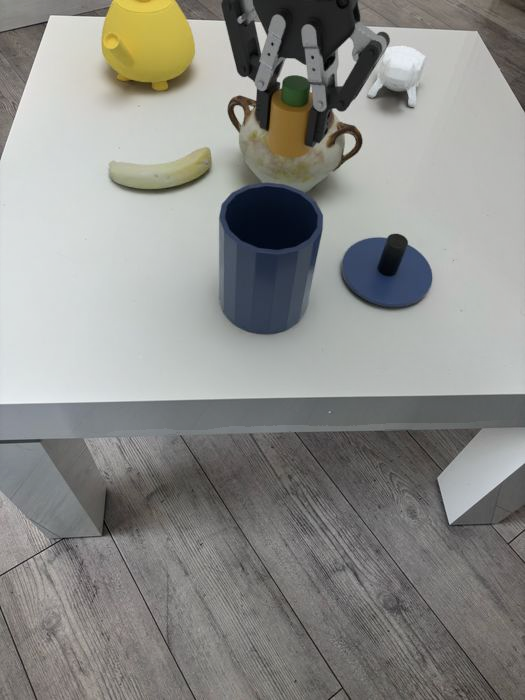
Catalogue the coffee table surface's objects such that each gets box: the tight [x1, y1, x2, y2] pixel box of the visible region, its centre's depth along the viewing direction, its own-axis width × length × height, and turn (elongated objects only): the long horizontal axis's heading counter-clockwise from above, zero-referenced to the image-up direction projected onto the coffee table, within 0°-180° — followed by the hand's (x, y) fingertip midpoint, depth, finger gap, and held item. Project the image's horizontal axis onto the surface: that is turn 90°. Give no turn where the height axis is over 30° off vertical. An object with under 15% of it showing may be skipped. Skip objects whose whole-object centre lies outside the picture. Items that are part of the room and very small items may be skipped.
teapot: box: [100, 0, 196, 92], centre depth 89 cm, size 20×16×14 cm
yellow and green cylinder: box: [268, 74, 313, 158], centre depth 48 cm, size 4×4×6 cm
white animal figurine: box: [367, 45, 428, 108], centre depth 94 cm, size 9×8×15 cm
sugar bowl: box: [226, 94, 364, 193], centre depth 76 cm, size 20×15×15 cm
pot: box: [218, 182, 324, 335], centre depth 62 cm, size 11×11×14 cm
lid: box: [341, 233, 433, 308], centre depth 69 cm, size 12×12×6 cm
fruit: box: [108, 146, 212, 190], centre depth 78 cm, size 7×15×3 cm, turn 102°
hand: (290, 133), depth 50 cm, fingers closed on yellow and green cylinder, 4 cm apart
